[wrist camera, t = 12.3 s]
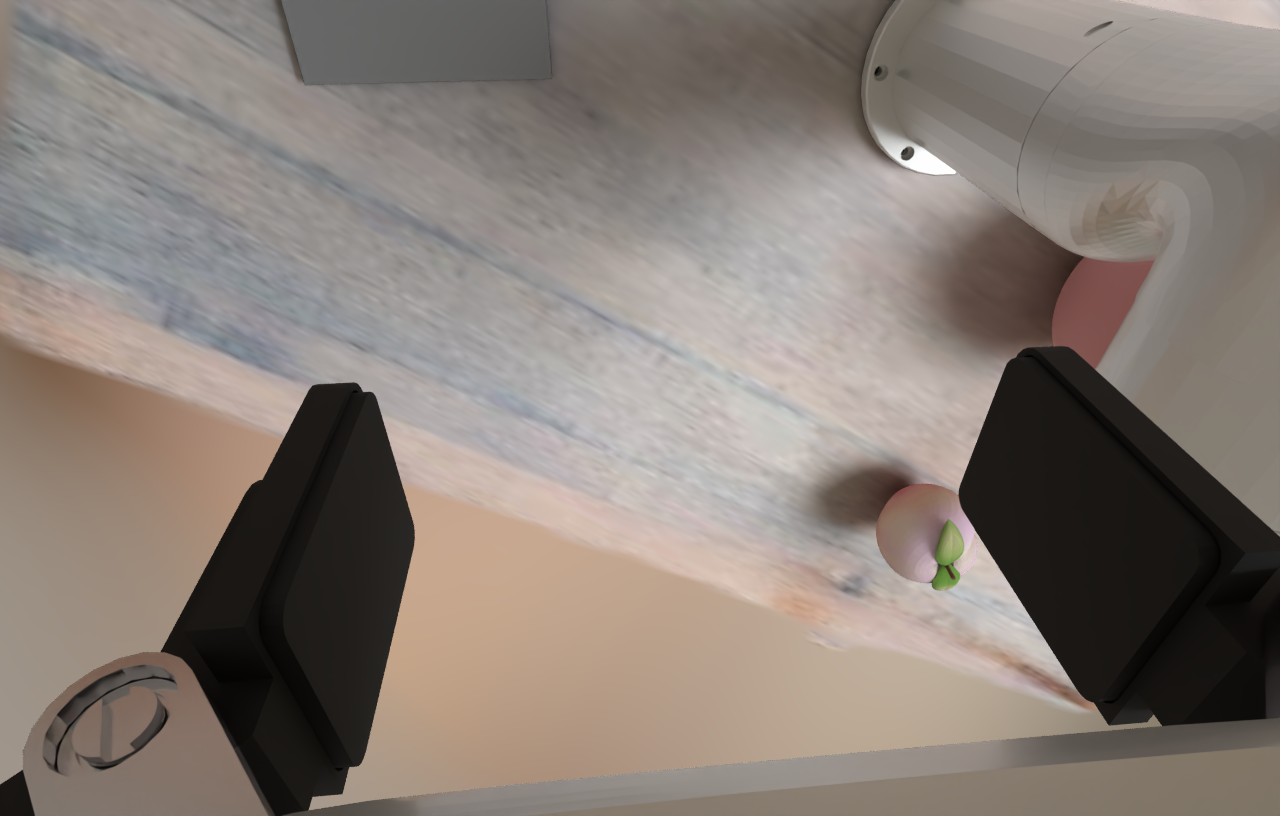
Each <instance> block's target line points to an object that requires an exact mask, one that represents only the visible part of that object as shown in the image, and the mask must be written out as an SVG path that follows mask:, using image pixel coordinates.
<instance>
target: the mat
mask: <svg viewBox="0 0 1280 816" xmlns="http://www.w3.org/2000/svg"><path fill="white" fill-rule="evenodd" d="M281 1H282V5H283V9H284V12H285V16H286V19H287V23H288V26H289V30H290V34H291V37H292V41H293V44H294V48H295V52H296V55H297V59H298V62H299V66H300V69H301V73H302V77H303V80H304V84H305V85H324V84H366V83H407V82H448V81H489V80H530V79H552V72H551V59H550V46H549V33H548V20H547V7H546V0H281Z"/></svg>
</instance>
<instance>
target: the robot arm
mask: <svg viewBox="0 0 1280 816" xmlns="http://www.w3.org/2000/svg"><path fill="white" fill-rule="evenodd" d="M878 66H879V68H880V70H879V72H878V73H877V74H875V75H874V72H875V69H876V68H877V67H878ZM861 100H862V107H863V115H864V118H865V121H866V124H867V127H868V129H869V132H870V134H871V136H872V137H873V139H874V140H875V142H876V143H877V145H878V147H879V148H880V149H881V150H882V151H883V152H885V153H886V154H887V155H888V156H889V157H890V158H891V159H892V160H893V161H895V162H896V163H897V164H899V165H900V166H902V167H904V168H907V169H909V170H911V171H914V172H916V173H921V174H927V175H933V176H938V175H954V174H960V175H961V176H963V177H964V178H965V179H967V180H968V181H969V182H971V183H972V184H974V185H975V186H976V187H978V188H979V189H980V190H982V191H983V192H985V193H986V194H987V195H989V196H990V197H991V198H993V199H994V200H996V201H997V202H998V203H1000V204H1001V205H1003V206H1004V207H1005V208H1007V209H1008V210H1009V211H1011V212H1012V213H1014V214H1015V215H1016V216H1018V217H1019V218H1020V219H1022V220H1023V221H1025V222H1026V223H1027V224H1029V225H1030V226H1031V227H1033V228H1034V229H1036V230H1037V231H1039V232H1040V233H1042V234H1043V235H1045V236H1046V237H1048V238H1049V239H1050V240H1052V241H1053V242H1055V243H1056V244H1058V245H1059V246H1061V247H1063V248H1065V249H1066V250H1068V251H1070V252H1072V253H1075V254H1078V255H1081V256H1084V257H1087V258H1090V259H1095V260H1101V261H1109V262H1142V261H1153V260H1155V261H1154V263H1153V265H1152V267H1151V269H1150V271H1149V273H1148V275H1147V276H1146V278H1145V280H1144V282H1143V283H1142V285H1141V287H1140V289H1139V290H1138V292H1137V294H1136V297H1135V301H1134V303H1133V305H1132V306H1131V308H1130V310H1129V312H1128V313H1127V315H1126V317H1125V319H1124V320H1123V322H1122V324H1121V325H1120V327H1119V329H1118V331H1117V332H1116V334H1115V336H1114V338H1113V339H1112V341H1111V343H1110V344H1109V346H1108V348H1107V350H1106V351H1105V353H1104V355H1103V357H1102V358H1101V360H1100V362H1099V363H1098V365H1097V367H1096V369H1094V368H1093V367H1092V366H1091V365H1090V364H1089V363H1087V362H1086V361H1085V360H1084V359H1083V358H1082V357H1081V356H1080V355H1079V354H1078V353H1076V352H1075V351H1074V350H1073V349H1071V348H1069V347H1067V346H1051V347H1031V348H1026V349H1023V350H1022V351H1021V352H1020V353H1019V354H1018V355H1017V357H1016V358H1014V359H1011V360H1010V361H1009V362H1008V363H1007V365H1006V367H1005V369H1004V372H1003V375H1002V377H1001V380H1000V382H999V385H998V388H997V390H996V393H995V396H994V398H993V401H992V403H991V406H990V409H989V411H988V414H987V416H986V419H985V422H984V424H983V427H982V430H981V432H980V435H979V437H978V440H977V443H976V445H975V448H974V451H973V453H972V456H971V458H970V461H969V464H968V466H967V469H966V471H965V474H964V477H963V479H962V482H961V485H960V488H959V502H960V505H961V508H962V510H963V512H964V513H965V515H966V517H967V518H968V520H969V521H970V523H971V524H972V526H973V528H974V529H975V531H976V532H977V534H978V535H979V537H980V539H981V540H982V542H983V543H984V545H985V546H986V548H987V549H988V551H989V553H990V554H991V556H992V557H993V559H994V560H995V562H996V564H997V565H998V567H999V568H1000V570H1001V571H1002V573H1003V575H1004V576H1005V578H1006V579H1007V581H1008V582H1009V584H1010V586H1011V587H1012V589H1013V590H1014V592H1015V593H1016V595H1017V596H1018V598H1019V600H1020V601H1021V603H1022V604H1023V606H1024V607H1025V609H1026V611H1027V612H1028V614H1029V615H1030V617H1031V618H1032V620H1033V622H1034V623H1035V625H1036V626H1037V628H1038V629H1039V631H1040V632H1041V634H1042V636H1043V637H1044V639H1045V640H1046V642H1047V643H1048V645H1049V647H1050V648H1051V650H1052V651H1053V653H1054V654H1055V656H1056V658H1057V659H1058V661H1059V662H1060V664H1061V665H1062V667H1063V669H1064V670H1065V672H1066V673H1067V675H1068V676H1069V678H1070V679H1071V681H1072V683H1073V684H1074V686H1075V687H1076V689H1077V690H1078V692H1079V693H1080V694H1081V695H1082V696H1083V697H1084V698H1085V699H1086V700H1088V701H1090V702H1094V704H1095V705H1096V707H1097V708H1098V710H1099V711H1100V713H1101V714H1102V716H1103V717H1104V719H1105V720H1106V722H1107V724H1108V725H1120V724H1131V723H1143V722H1148V720H1149V719H1150V718H1151V717H1152V715H1155V717H1156V718H1157V719H1158V721H1159V722H1160V724H1161V725H1162V726H1160V727H1147V728H1136V729H1124V730H1112V731H1101V732H1088V733H1077V734H1065V735H1053V736H1041V737H1030V738H1018V739H1006V740H995V741H982V742H971V743H959V744H949V745H938V746H926V747H915V748H904V749H893V750H881V751H870V752H859V753H848V754H838V755H825V756H815V757H803V758H792V759H781V760H772V761H771V760H770V761H760V762H748V763H738V764H726V765H716V766H705V767H695V768H685V769H674V770H663V771H653V772H642V773H631V774H621V775H610V776H600V777H589V778H580V779H569V780H558V781H548V782H538V783H526V784H516V785H506V786H497V787H489V788H480V789H471V790H462V791H453V792H444V793H435V794H426V795H418V796H408V797H399V798H391V799H382V800H373V801H366V802H359V803H353V804H347V805H341V806H334V807H328V808H322V809H315V810H309V807H310V803H311V800H312V797H316V796H326V795H338V794H342V793H343V790H344V785H345V782H346V778H347V774H348V769H349V767H355V766H359V765H360V764H361V763H362V760H363V758H364V755H365V752H366V749H367V744H368V739H369V736H370V731H371V727H372V723H373V719H374V714H375V710H376V706H377V702H378V697H379V693H380V689H381V684H382V680H383V676H384V672H385V668H386V663H387V659H388V655H389V650H390V646H391V642H392V637H393V633H394V629H395V625H396V621H397V616H398V612H399V608H400V603H401V599H402V595H403V591H404V587H405V582H406V578H407V574H408V569H409V565H410V561H411V556H412V552H413V547H414V540H415V535H414V534H415V532H414V525H413V520H412V517H411V513H410V510H409V507H408V503H407V500H406V496H405V493H404V490H403V486H402V483H401V480H400V476H399V473H398V469H397V466H396V463H395V459H394V456H393V453H392V449H391V446H390V442H389V439H388V436H387V432H386V429H385V426H384V422H383V419H382V415H381V412H380V409H379V405H378V402H377V399H376V397H375V395H374V394H373V393H372V392H363V391H362V389H361V387H360V386H359V385H358V384H357V383H336V384H316V385H313V386H312V387H311V388H310V390H309V391H308V393H307V395H306V397H305V399H304V401H303V403H302V405H301V407H300V409H299V410H298V412H297V414H296V416H295V418H294V420H293V422H292V424H291V426H290V428H289V430H288V432H287V434H286V436H285V437H284V439H283V441H282V443H281V445H280V447H279V449H278V451H277V453H276V455H275V457H274V459H273V461H272V463H271V464H270V466H269V468H268V470H267V472H266V474H265V476H264V478H263V480H259V481H257V482H255V483H254V484H252V485H251V487H250V488H249V489H248V491H247V492H246V494H245V495H244V497H243V499H242V501H241V503H240V505H239V506H238V509H237V510H236V512H235V514H234V516H233V518H232V519H231V522H230V523H229V525H228V527H227V529H226V531H225V533H224V534H223V536H222V538H221V540H220V542H219V544H218V546H217V547H216V549H215V551H214V553H213V555H212V557H211V559H210V561H209V563H208V565H207V566H206V568H205V570H204V572H203V574H202V576H201V577H200V579H199V581H198V583H197V585H196V587H195V589H194V591H193V592H192V594H191V596H190V598H189V600H188V602H187V604H186V606H185V607H184V609H183V611H182V613H181V615H180V617H179V619H178V620H177V622H176V624H175V626H174V628H173V630H172V632H171V633H170V635H169V637H168V639H167V641H166V643H165V645H164V647H163V649H162V650H161V652H143V653H139V654H135V655H130V656H126V657H122V658H119V659H117V660H114V661H112V662H110V663H108V664H105V665H104V666H101V667H99V668H97V669H95V670H93V671H91V672H90V673H88V674H87V675H85V676H84V677H82V678H81V679H79V680H78V681H76V682H75V683H73V684H72V685H70V686H69V687H68V688H67V689H66V690H65V691H64V692H63V693H62V694H60V695H59V696H58V697H57V698H56V699H55V700H54V701H53V702H52V703H51V704H50V705H49V706H48V707H47V708H46V710H45V711H44V712H43V714H42V715H41V717H40V718H39V719H38V721H37V722H36V723H35V725H34V726H33V728H32V730H31V732H30V735H29V737H28V740H27V742H26V745H25V747H24V750H23V770H22V771H20V772H19V773H17V774H16V775H14V776H13V777H11V778H10V779H8V780H7V781H5V782H3V783H2V784H0V816H1280V30H1276V29H1269V28H1262V27H1255V26H1248V25H1241V24H1236V23H1231V22H1225V21H1220V20H1215V19H1210V18H1205V17H1199V16H1193V15H1188V14H1183V13H1178V12H1173V11H1168V10H1162V9H1157V8H1152V7H1147V6H1142V5H1137V4H1132V3H1127V2H1122V1H1117V0H895V1H894V3H893V4H892V5H891V6H890V8H889V9H888V10H887V12H886V14H885V16H884V17H883V19H882V21H881V23H880V24H879V26H878V28H877V30H876V31H875V34H874V36H873V39H872V42H871V44H870V47H869V49H868V52H867V55H866V60H865V64H864V69H863V73H862V86H861ZM904 148H906V149H905V151H904V152H903V153H901V152H902V150H903V149H904ZM308 810H309V811H308Z"/></svg>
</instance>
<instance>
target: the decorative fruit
mask: <svg viewBox="0 0 1280 816" xmlns="http://www.w3.org/2000/svg"><path fill="white" fill-rule="evenodd" d="M974 532H975V529H974V528H973V526H972V524H971V523H970V521H969V520H968V518H967V517H966V515H965V513H964V512H963V510H962V508H961V505H960V502H959V495H957V494H956V493H954V492H953V491H951V490H949V489H946V488H944V487H941V486H938V485H933V484H915V485H911V486H907V487H905V488H903V489H901V490H899V491H898V492H896V493H895V494H894V495H893V496H892V497H891V498H890V499H889V501H888V502H887V503H886V505H885V506H884V508H883V510H882V511H881V514H880V516H879V518H878V521H877V527H876V538H877V543H878V546H879V549H880V552H881V554H882V556H883V557H884V559H885V561H886V562H887V563H888V564H889V566H890V567H891V568H892V569H893V570H894V571H895V572H896V573H898V574H899V575H901V576H902V577H904V578H906V579H908V580H911V581H915V582H920V583H932V587H933V588H934V589H935V590H940V591H941V590H948V589H950V588H952V587H954V586H955V585H956V584H957V583H958V581H959V579H960V576H962V575H963V574H965V573H966V572H967V571H968V570H969V569H970V568H971V567H972V565H973V564H974V562H975V560H976V557H977V552H978V545H977V539H976V536H975V533H974Z"/></svg>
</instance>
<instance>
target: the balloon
mask: <svg viewBox="0 0 1280 816" xmlns="http://www.w3.org/2000/svg"><path fill="white" fill-rule="evenodd" d="M1154 261H1155V260H1153V261H1142V262H1109V261H1101V260H1095V259H1090V258H1087V257H1084V258H1083V259H1082V260H1081V261H1080V262H1079V263H1078V265H1077V266H1076V267H1075V268H1074V270H1073V271H1072V272H1071V274H1070V275H1069V277H1068V279H1067V280H1066V282H1065V284H1064V286H1063V288H1062V290H1061V292H1060V294H1059V297H1058V299H1057V302H1056V306H1055V309H1054V314H1053V321H1052V342H1053V346H1067V347H1069V348H1071V349H1073V350H1074V351H1075V352H1076V353H1078V354H1079V355H1080V356H1081V357H1082V358H1083V359H1084V360H1085V361H1086V362H1087V363H1089V364H1090V365H1091V366H1092V367H1093V368H1094V369H1096V367H1097V365H1098V363H1099V362H1100V360H1101V358H1102V357H1103V355H1104V353H1105V351H1106V350H1107V348H1108V346H1109V344H1110V343H1111V341H1112V339H1113V338H1114V336H1115V334H1116V332H1117V331H1118V329H1119V327H1120V325H1121V324H1122V322H1123V320H1124V319H1125V317H1126V315H1127V313H1128V312H1129V310H1130V308H1131V306H1132V305H1133V303H1134V301H1135V297H1136V294H1137V292H1138V290H1139V289H1140V287H1141V285H1142V283H1143V282H1144V280H1145V278H1146V276H1147V275H1148V273H1149V271H1150V269H1151V267H1152V265H1153V263H1154Z"/></svg>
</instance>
